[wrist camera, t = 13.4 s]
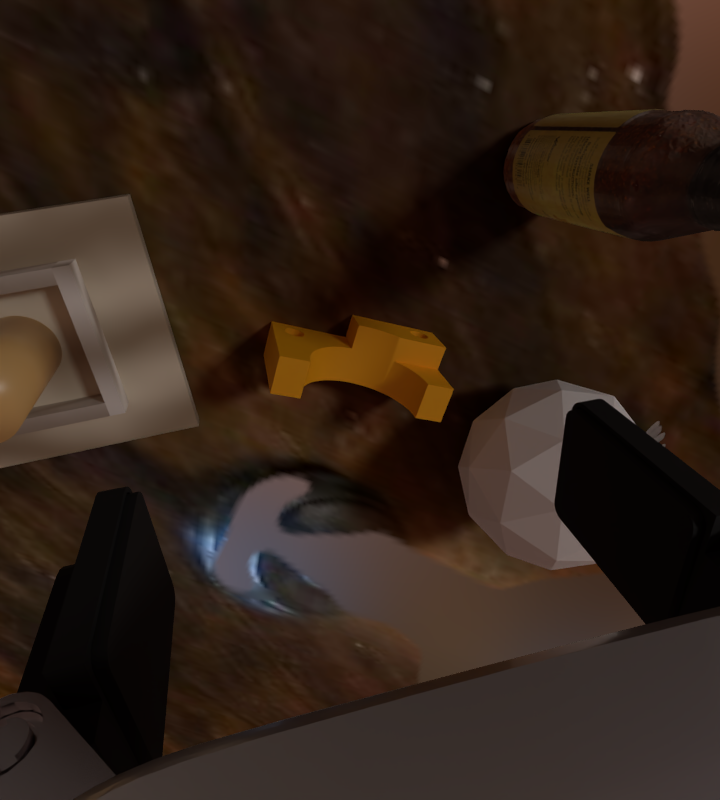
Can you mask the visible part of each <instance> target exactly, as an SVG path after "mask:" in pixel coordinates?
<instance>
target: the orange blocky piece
mask: <svg viewBox="0 0 720 800" xmlns="http://www.w3.org/2000/svg"><path fill="white" fill-rule="evenodd" d="M445 349H446V347H445V346H444V345H443V344H442V343H441V342H440V341H439V340H438V339H437V338H436V337H435V336H434V335H433V333H430V332H426V331H422V330H417V329H413V328H408V327H404V326H400V325H395V324H391V323H386V322H382V321H378V320H373V319H369V318H364V317H360V316H356V315H352V318H351V321H350V324H349V328H348V331H347V334H346V337H343V336H339V335H334V334H329V333H324V332H320V331H315V330H310V329H306V328H301V327H296V326H292V325H287V324H282V323H277V322H273V321H272V322H271V326H270V330H269V334H268V338H267V342H266V346H265V351H264V360H265V366H266V372H267V377H268V383H269V389H270V393H271V394H277V395H283V396H289V397H295V398H301V394H302V391H303V387H304V386H305V385H307V384H309V383H311V382H315V381H322V380H335V381H344V382H349V383H354V384H358V385H362V386H365V387H368V388H371V389H374V390H376V391H379V392H381V393H383V394H385V395H387V396H389V397H391V398H393V399H394V400H396V401H398V402H399V403H401V404H402V405H403V406H405V407H406V408H407V409H408V410H409V411H410V412H411V413H412V414H413V415H414V417H415V418H419V419H424V420H430V421H436V422H441V420H442V417H443V415H444V413H445V410H446V408H447V405H448V403H449V400H450V398H451V395H452V393H453V390H454V389H453V388H452V387H451V385H450V384H449V383H448V382H447V381H446V379H445V378H444V377H443V376H442V375H441V373H440V372H439V371H438V367H439V365H440V362H441V359H442V357H443V354H444V352H445Z"/></svg>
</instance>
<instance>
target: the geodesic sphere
mask: <svg viewBox="0 0 720 800" xmlns="http://www.w3.org/2000/svg"><path fill="white" fill-rule="evenodd" d="M594 399H603V400H605V401H606V402H607V403H609V404H610V405H611V406H613V407H614V408H615V409H616V410H618V411H619V412H620V413H621V414H623V415H624V416H625V417H627V418H628V419H629V420H630V421H632V422H633V420H632V419H631V418H630V416H629V415H628V414H627V412H626V411H625V410H624V408H623V407H622V406H621V405H620V403H619V402H618V401H617V399H616V398H615V397H614V396H612V395H608V394H605V393H602V392H598V391H595V390H591V389H588V388H584V387H581V386H577V385H574V384H570V383H567V382H563V381H560V380H552V381H547V382H543V383H538V384H533V385H528V386H523V387H518V388H513V389H512V390H511V391H510V392H508V393H507V394H506V395H505V396H503V397H502V398H501V399H500V400H498V401H497V402H496V403H495V404H494V405H492V406H491V407H490V408H489V409H487V410H486V411H485V412H484V413H482V414H481V415H480V416H479V417H477V418H476V419H475V420H474V421H473V423H472V426H471V429H470V432H469V435H468V438H467V441H466V444H465V447H464V450H463V453H462V456H461V459H460V462H459V465H458V469H459V473H460V478H461V482H462V487H463V491H464V496H465V500H466V505H467V509H468V514H469V516H470V517H471V518H472V519H473V520H474V521H475V522H476V523H477V524H478V525H479V526H480V527H481V528H482V529H483V530H484V531H485V532H486V534H487V535H488V536H489V537H490V538H491V539H492V540H493V541H494V542H495V543H496V544H497V545H498V546H499V547H500V548H501V549H502V550H503V551H504V552H505V553H506V554H507V555H509V556H512V557H515V558H518V559H520V560H523V561H526V562H529V563H532V564H535V565H538V566H540V567H543V568H546V569H549V570H555V569H561V568H568V567H575V566H582V565H589V564H596V563H595V561H594V560H593V559H592V558H591V556H590V555H589V554H588V553H587V551H586V550H585V549H584V548H583V547H582V545H581V544H580V543H579V542H578V540H577V539H576V538H575V537H574V535H573V534H572V533H571V532H570V531H569V529H568V528H567V527H566V526H565V524H564V523H563V522H562V521H561V520H560V518H559V517H558V515H557V513H556V510H555V505H554V501H555V493H556V486H557V479H558V471H559V464H560V456H561V449H562V442H563V434H564V427H565V419H566V414H567V413H568V411H570V410H572V407H573V406H574V404H576V403H578V402H584V401H589V400H594ZM633 423H634V422H633ZM634 424H635V423H634ZM659 424H660V421H658V422H656V423H655V424H654V425H652V426H651V427H650V428H649V429H648V431H647V432H646V433H647V434H648V435H650V436H651V437H652V438H655V437H656V436H657V435H658V433H660V432H661V431H660V430H661V428H662V426H659ZM664 435H665V433H662V434H660V435H658V436H657V437H656V438H655V440H656V441H657V442H660V440H662V439H663V438H664ZM662 437H663V438H662ZM662 446H664V447H665V446H666V445H665V444H662Z"/></svg>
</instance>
